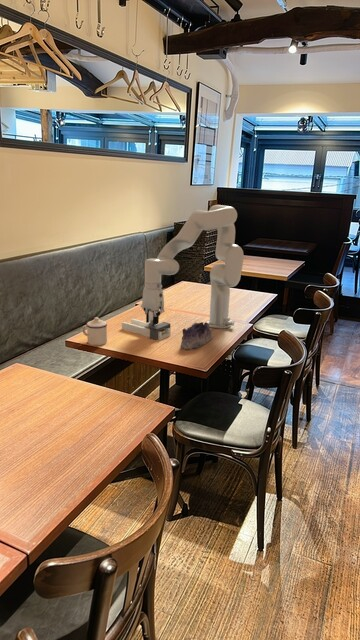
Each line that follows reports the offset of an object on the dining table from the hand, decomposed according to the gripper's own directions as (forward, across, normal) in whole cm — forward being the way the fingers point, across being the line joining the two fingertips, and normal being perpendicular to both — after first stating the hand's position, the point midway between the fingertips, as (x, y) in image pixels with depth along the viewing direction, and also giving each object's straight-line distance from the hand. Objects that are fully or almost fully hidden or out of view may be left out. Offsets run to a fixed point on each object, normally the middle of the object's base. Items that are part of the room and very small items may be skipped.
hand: (152, 322), depth 215 cm
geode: (+6, -23, -4) cm, 24 cm away
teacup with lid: (+6, +13, +25) cm, 29 cm away
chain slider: (+4, -2, 0) cm, 4 cm away
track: (+6, +4, 0) cm, 7 cm away
